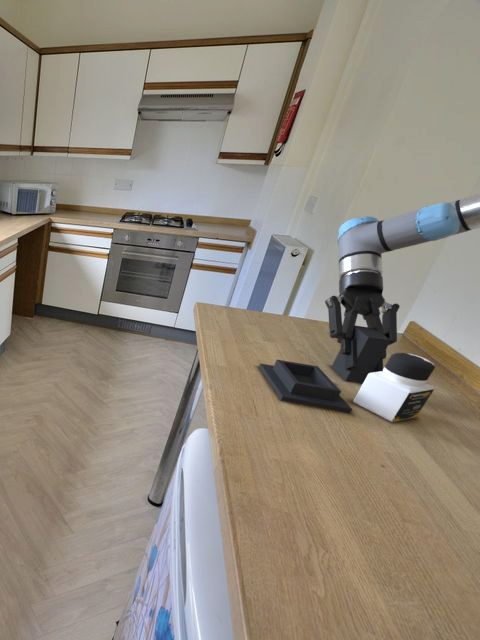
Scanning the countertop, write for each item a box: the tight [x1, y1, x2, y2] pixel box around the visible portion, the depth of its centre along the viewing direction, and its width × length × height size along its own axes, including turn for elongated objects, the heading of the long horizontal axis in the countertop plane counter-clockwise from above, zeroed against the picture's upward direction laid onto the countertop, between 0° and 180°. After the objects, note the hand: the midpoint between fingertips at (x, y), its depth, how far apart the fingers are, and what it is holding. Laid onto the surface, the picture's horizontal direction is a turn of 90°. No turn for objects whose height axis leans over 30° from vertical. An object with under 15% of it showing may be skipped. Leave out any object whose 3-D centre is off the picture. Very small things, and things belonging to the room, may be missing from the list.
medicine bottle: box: [353, 352, 436, 423], centre depth 80 cm, size 7×7×12 cm
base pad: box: [258, 359, 353, 414], centre depth 88 cm, size 12×15×4 cm
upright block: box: [331, 325, 391, 384], centre depth 93 cm, size 4×7×11 cm, turn 162°
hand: (363, 370), depth 90 cm, fingers closed on upright block, 4 cm apart
